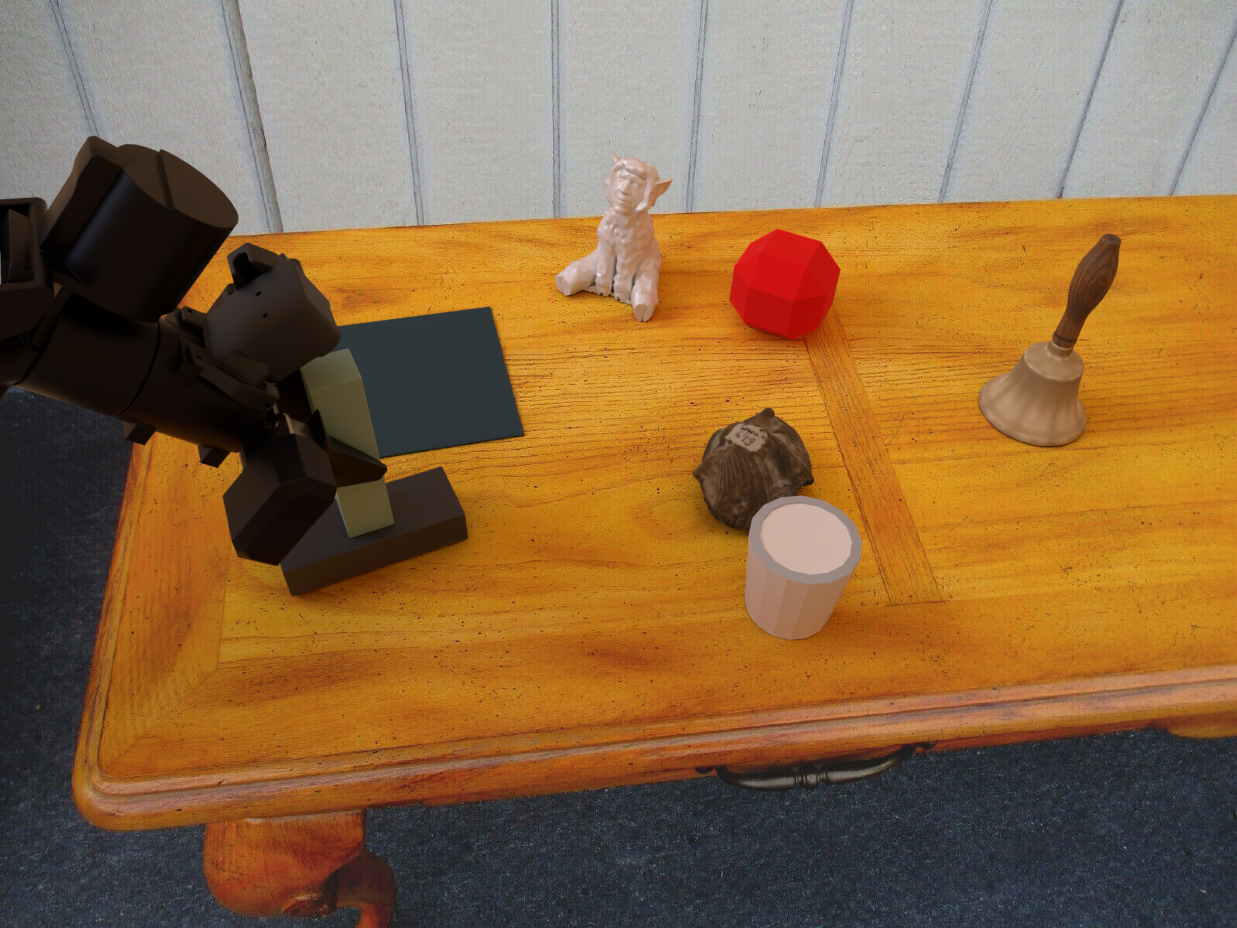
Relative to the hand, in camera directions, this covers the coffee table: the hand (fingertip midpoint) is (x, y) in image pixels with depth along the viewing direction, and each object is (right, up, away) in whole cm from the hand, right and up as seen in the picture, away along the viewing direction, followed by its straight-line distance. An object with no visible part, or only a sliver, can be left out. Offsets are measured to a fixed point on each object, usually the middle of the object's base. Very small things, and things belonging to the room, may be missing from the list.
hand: (376, 455), depth 60 cm
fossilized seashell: (+25, -3, +9) cm, 27 cm away
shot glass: (+26, -10, +3) cm, 28 cm away
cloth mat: (-4, +6, +16) cm, 17 cm away
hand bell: (+48, +4, +16) cm, 51 cm away
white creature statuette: (+15, +16, +26) cm, 34 cm away
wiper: (-1, -6, +5) cm, 8 cm away
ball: (+29, +12, +23) cm, 39 cm away
